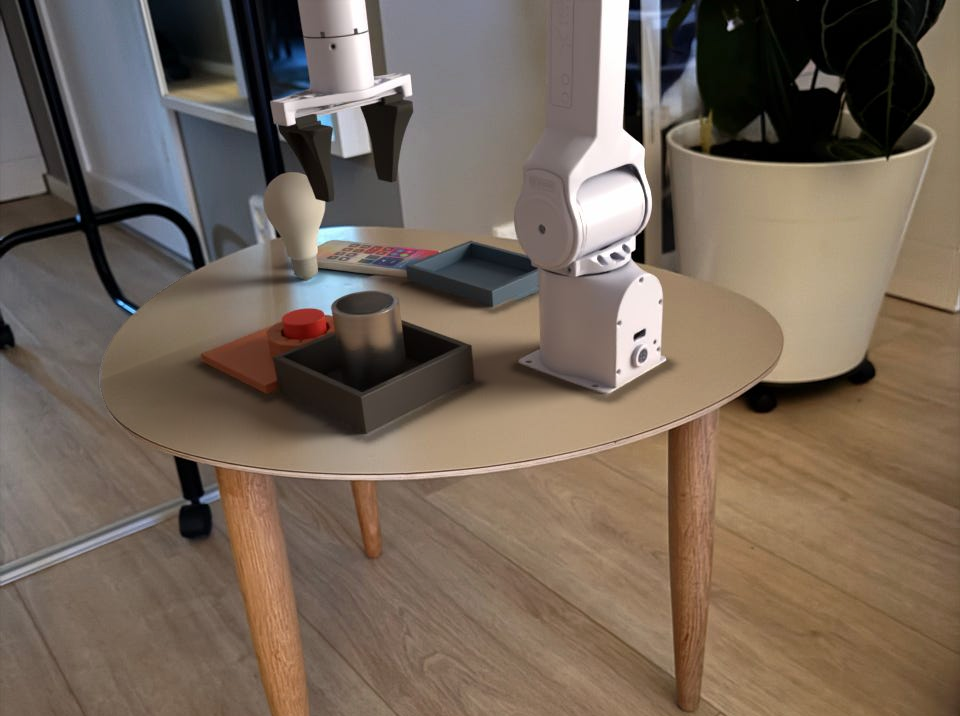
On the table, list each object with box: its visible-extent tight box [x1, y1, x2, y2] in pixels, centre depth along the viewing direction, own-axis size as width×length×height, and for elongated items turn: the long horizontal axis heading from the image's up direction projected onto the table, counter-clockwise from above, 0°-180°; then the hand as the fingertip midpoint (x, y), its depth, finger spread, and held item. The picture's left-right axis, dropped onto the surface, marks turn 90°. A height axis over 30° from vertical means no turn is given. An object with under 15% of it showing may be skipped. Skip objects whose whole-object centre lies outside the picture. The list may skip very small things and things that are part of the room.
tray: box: [406, 240, 538, 308], centre depth 94 cm, size 12×9×2 cm
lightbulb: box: [262, 171, 326, 281], centre depth 96 cm, size 6×6×11 cm
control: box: [200, 314, 335, 395], centre depth 81 cm, size 10×10×3 cm
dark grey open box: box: [273, 319, 475, 435], centre depth 75 cm, size 11×11×4 cm
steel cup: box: [330, 290, 407, 392], centre depth 74 cm, size 5×5×7 cm
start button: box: [281, 307, 327, 340], centre depth 80 cm, size 4×4×2 cm
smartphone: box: [316, 239, 441, 278], centre depth 102 cm, size 7×1×15 cm
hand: (356, 189), depth 90 cm, fingers open, 7 cm apart
